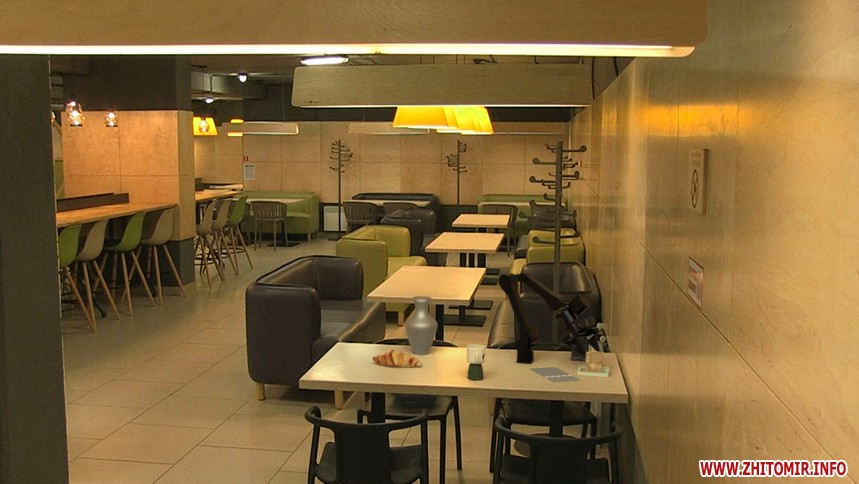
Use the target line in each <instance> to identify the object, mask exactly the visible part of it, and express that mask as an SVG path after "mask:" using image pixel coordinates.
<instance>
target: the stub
mask: <svg viewBox="0 0 859 484" xmlns="http://www.w3.org/2000/svg"><path fill="white" fill-rule="evenodd" d="M602 360H603V351H599V352H598V351H596V350H590V351H586V358H585V366H586V369H585V372H593V373H601V368H602V367H603V365H602V364H603V363H602Z"/></svg>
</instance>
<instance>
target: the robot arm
mask: <svg viewBox="0 0 859 484" xmlns="http://www.w3.org/2000/svg"><path fill="white" fill-rule="evenodd" d="M497 283H498V285H499V287H500V289H501V291H503V292H504V294H506V296H507V298H508V301H509V303H510V306H511V308H512V311H513V314H514V317H515V319H516V322H517V324H518V337H519V339H518V340H517V341H516V342H515V343H514V348H515V349H516V361H515V362H516V363H519V364H530V365H531V364H532V363H533V362H534V360H535V356H534V355H535V351H534V350H533V349H534V347H535V346H536V344H537V343H538V341H539V340H540V332H539V331H538V328H537V325H535V324H534V325H532V324H531V323H530V321H529V317H528V315H527V312H526V308H525V307H524V304H523V302H522V299H521V297H520V293H519V283H523V284H524V285H525V286H527V287H528V288H529V289H531V290H532V291H533V292H534V293H536V294H537V295H539V296H540V297H541V298H542V299H543V300H544V302H545V304H546V305H547V307H549V308H550V310H552V311H555V312H556V311H559V310H560V311H559V312H556V313H555V314H556V315H555V320H562V322H563V324H565V330H566V331H567V333H565V335H563V336H562V338H561V343H562V344H563V345H564V346H566V347H569V348H570V349H572V348H573V349H574V350H576V351H578V352H579V353H581V354H582V355H585V354H586V353H585V351H584V349H583V347H582V345H581V344H580V341H579V338H583V337H584V338H585V340H587V345H589V346H590V347H591V348H592V349H594V351H598V352H601V350H600V345H599V341H598V337H599V335H600V333H601V330H600V329H599V327H595V325H596V318H594V316H593V315H592V316H587V318H584V319H582V318H579V317H578V316H580V315H582V314H583V313H584V312H585V311H586V310H587V309H589V308H590V307H591V303H590V301H589V300H588V298H586V297H585V296H582V294H580V293H578V294H576V295H575V296H574V298H572V299H569V298H567V297H565V296H564V295H563V294H560V293H558V292H556V291H553V290H552V289H549V288H548V287H547V286H546V285H544V284H543V283H542V282H540V281H539V280H538V279H537V278H536V277H534V276H533V275H532V274H531V273H529V272H528V271H523V272H521V273H516V274H515V273H512V272H508V273H503V274H501V275H500V276H499V277H498V279H497ZM577 315H578V316H577Z"/></svg>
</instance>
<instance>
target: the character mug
mask: <svg viewBox="0 0 859 484" xmlns="http://www.w3.org/2000/svg"><path fill="white" fill-rule="evenodd" d="M485 362H486V346H485V345H483V344H468V345H467V346H466V363H469V365H468V370H467V379H474V380H475V381H476V380H483V379H484V368H483V365H482V364H484V363H485Z"/></svg>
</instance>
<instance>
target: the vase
mask: <svg viewBox="0 0 859 484" xmlns="http://www.w3.org/2000/svg"><path fill="white" fill-rule="evenodd" d="M412 300H413V303H414V308H415V309H414V312H413V315H411V316H410V317H409V318H408V319H407V320H405V322H404V328H405V332H406V336H407V340H408V343H409V346H410V348H411V350H412V354H413V355H416V356H425V355H429V352H430V350H431V348H432V346H433V342H434V340H435V337H436V334H437V330H438V321H437V320H435V318H433V317H432V316H431V315H430V313H429V305H430V302H431V300H432V297H430V296H424V295H423V296H422V295H421V296H420V295H418V296H417V295H416V296H413V297H412Z"/></svg>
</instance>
